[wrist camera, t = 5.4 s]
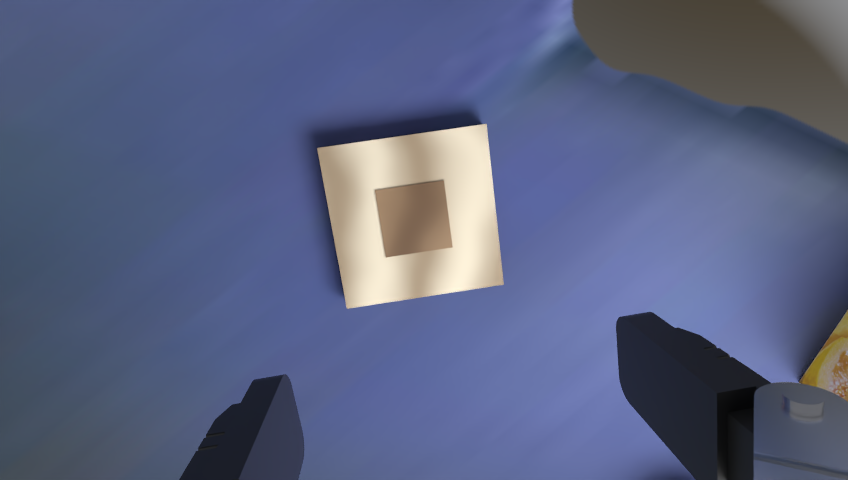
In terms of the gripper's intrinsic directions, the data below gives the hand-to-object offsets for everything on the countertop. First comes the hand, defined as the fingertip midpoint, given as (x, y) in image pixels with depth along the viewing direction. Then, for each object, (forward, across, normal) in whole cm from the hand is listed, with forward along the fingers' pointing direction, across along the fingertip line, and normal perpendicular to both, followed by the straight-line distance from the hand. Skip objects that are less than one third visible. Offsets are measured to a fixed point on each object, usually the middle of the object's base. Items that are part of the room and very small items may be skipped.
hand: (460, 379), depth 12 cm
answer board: (+26, 0, -1) cm, 26 cm away
